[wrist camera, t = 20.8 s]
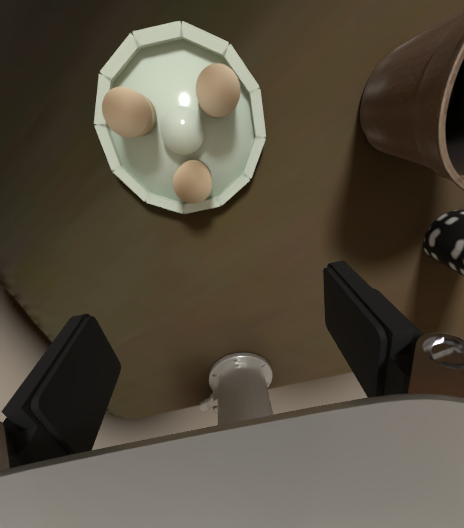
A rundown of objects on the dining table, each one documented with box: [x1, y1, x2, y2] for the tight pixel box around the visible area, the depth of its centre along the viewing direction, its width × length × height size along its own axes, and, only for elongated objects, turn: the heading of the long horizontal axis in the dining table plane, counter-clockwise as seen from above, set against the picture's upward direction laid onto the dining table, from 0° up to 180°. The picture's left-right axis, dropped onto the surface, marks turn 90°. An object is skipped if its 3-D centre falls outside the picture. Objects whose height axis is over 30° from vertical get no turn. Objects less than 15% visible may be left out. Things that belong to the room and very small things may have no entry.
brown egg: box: [173, 159, 212, 204], centre depth 32 cm, size 4×4×5 cm
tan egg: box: [102, 87, 157, 138], centre depth 28 cm, size 4×4×5 cm
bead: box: [196, 63, 240, 118], centre depth 28 cm, size 4×4×5 cm
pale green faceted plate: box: [94, 21, 266, 214], centre depth 31 cm, size 19×19×2 cm
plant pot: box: [360, 9, 464, 190], centre depth 26 cm, size 16×16×16 cm
